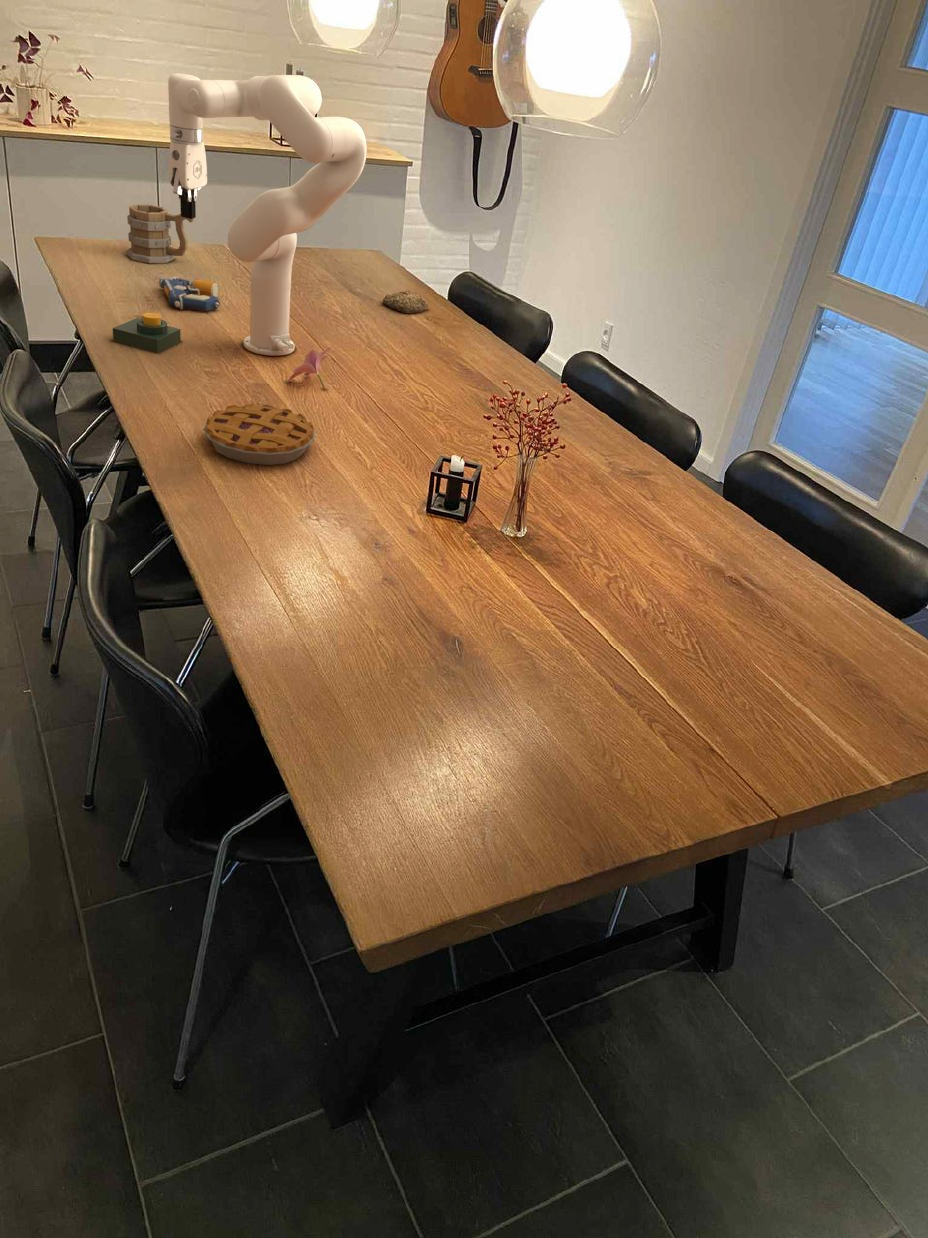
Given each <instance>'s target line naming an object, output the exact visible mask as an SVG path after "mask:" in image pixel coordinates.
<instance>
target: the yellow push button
mask: <svg viewBox="0 0 928 1238" xmlns="http://www.w3.org/2000/svg"><path fill="white" fill-rule="evenodd" d="M142 318H143V324H144V325H148V326H159V325H161V320H162V319H161V318H162V317H161V314H159V313H157V312H145V313H143V314H142Z"/></svg>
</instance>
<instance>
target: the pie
mask: <svg viewBox="0 0 928 1238" xmlns="http://www.w3.org/2000/svg"><path fill="white" fill-rule="evenodd" d="M203 431H204V433H205V435H206V437H207V438H208V440H209V441H211V444H212V445H213V447H214V449H215V452H216V453H218V454H219V455H222V456H224V457H226V458H228V459H231V460H235V461H239V462H242V463H246V464H255V465H264V466H265V465H266V466H272V465H285V464H288V463H291V462H294V461H295V460H297V459H298V458H300V457H301V456H302V455H303V454H304V453H305V452H306V450H307V449H308V448H309V446H310V444H312V442H314V441H315V437H316V436H315V435H316V430H315V428H314V425H313V423H312V422H311V421H309V420H307V417H306V416H305V415H304V414H302V413H298V414H295V413H294V412H293V410H292V409H289V408H283V409H280V408H277V407H275V406H273V405H270V404H264V405H262V406H260V405H255V404H253V403H249V404H245V405H243V406H237V405H235V404H233V405H227V406H226V408H225V409H223V410H221V409H217V410H215V411H214V412H213V414H212V416H208V417H207V419H206V422H205V424H204V427H203Z"/></svg>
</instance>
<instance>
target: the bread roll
mask: <svg viewBox="0 0 928 1238" xmlns="http://www.w3.org/2000/svg"><path fill="white" fill-rule="evenodd" d="M382 302H383V304H384V305H386V306H387V307H389V308H392V309H393V310H395V311H398V312H401V313H403V314H420V313H422V312H425V311H427V310H428V307H429V303H428V302H427V301H426V299H425V298H424V297H423V296H422V295H420V294H419V293H417V292H415V291H411V290H402V291H399V292H393V293H387V294H385V296H384V297H383V299H382Z"/></svg>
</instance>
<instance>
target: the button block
mask: <svg viewBox="0 0 928 1238" xmlns="http://www.w3.org/2000/svg"><path fill="white" fill-rule="evenodd" d="M181 336H182V335H181V328H178V327H174V326H169V325H168V321H166V320H164V319H161V325H159V326H148V325H144V324H143V317H142V318H139V317H136V318H134V319H131V320H129V321H126V322H124V323H122V324H119V325H117V326H114V327H112V341H113V342H116V343H119V344H124V345H127V346H130V347H134V348H138V349H141V350H145V351H149V352H153V353H157V354H158V353H161V352H163V351H165V350H167V349H170V348H171V347H173V346H175V345H177V344H180V343H182V339H181V338H182V337H181Z"/></svg>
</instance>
